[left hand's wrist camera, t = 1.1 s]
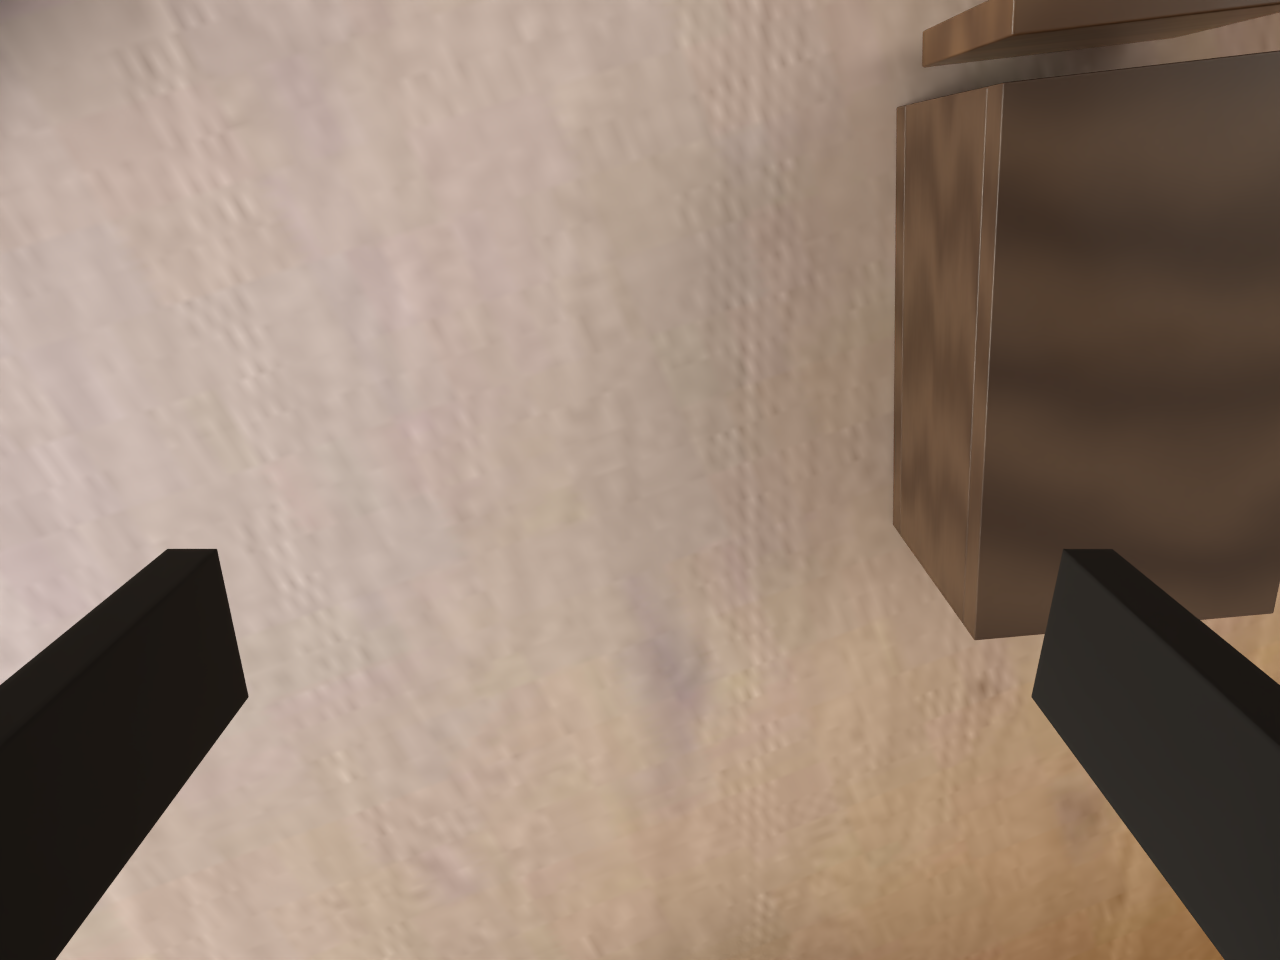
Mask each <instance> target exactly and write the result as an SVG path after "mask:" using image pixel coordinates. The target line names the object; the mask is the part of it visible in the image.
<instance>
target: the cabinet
mask: <svg viewBox="0 0 1280 960" xmlns="http://www.w3.org/2000/svg"><path fill="white" fill-rule="evenodd" d="M893 525H894V527H895V528H896V529H897V531H898V532H899V534H900V535H901V537H902V538H903V540H904V541H905V542H906V544H907V545H908V547H909V548H910V549H911V551H912V552H913V554H914V555H915V556H916V558H917V559H918V561H919V562H920V564H921V565H922V566H923V568H924V569H925V571H926V572H927V573H928V575H929V576H930V578H931V579H932V581H933V582H934V583H935V585H936V586H937V588H938V589H939V590H940V592H941V593H942V595H943V596H944V597H945V599H946V600H947V602H948V603H949V605H950V606H951V607H952V609H953V610H954V612H955V613H956V614H957V616H958V617H959V619H960V620H961V622H962V623H963V624H964V626H965V627H966V629H967V630H968V632H969V633H970V634H971V636H972V637H973V639H974V640H982V639H993V638H1004V637H1015V636H1026V635H1038V634H1045V631H1046V627H1047V622H1048V617H1049V613H1050V608H1051V603H1052V599H1053V594H1054V589H1055V585H1056V580H1057V575H1058V571H1059V566H1060V561H1061V557H1062V552H1063V549H1113V550H1114V551H1116V552H1117V553H1118V554H1119V555H1121V556H1122V557H1123V558H1124V559H1125V560H1127V561H1128V562H1129V563H1130V564H1132V565H1133V566H1134V567H1135V568H1136V569H1138V570H1139V571H1140V572H1141V573H1143V574H1144V575H1145V576H1146V577H1148V578H1149V579H1150V580H1151V581H1152V582H1154V583H1155V584H1156V585H1157V586H1159V587H1160V588H1161V589H1162V590H1163V591H1165V592H1166V593H1167V594H1168V595H1170V596H1171V597H1172V598H1173V599H1175V600H1176V601H1177V602H1178V603H1179V604H1181V605H1182V606H1183V607H1184V608H1186V609H1187V610H1188V611H1189V612H1190V613H1192V614H1193V615H1194V616H1195V617H1197V618H1198V619H1199V620H1204V619H1215V618H1226V617H1237V616H1248V615H1259V614H1270V613H1273V612H1274V607H1275V602H1276V597H1277V592H1278V587H1279V582H1280V51H1271V52H1263V53H1254V54H1246V55H1237V56H1228V57H1220V58H1211V59H1203V60H1194V61H1185V62H1177V63H1168V64H1160V65H1151V66H1142V67H1134V68H1125V69H1117V70H1108V71H1099V72H1091V73H1082V74H1074V75H1065V76H1057V77H1048V78H1039V79H1031V80H1022V81H1014V82H1005V83H1000V84H996V85H992V86H987V87H983V88H979V89H974V90H970V91H966V92H961V93H957V94H953V95H948V96H944V97H940V98H935V99H931V100H926V101H922V102H918V103H913V104H909V105H905V106H901V107H898V108H897V142H896V258H895V374H894V490H893Z"/></svg>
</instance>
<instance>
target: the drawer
mask: <svg viewBox="0 0 1280 960" xmlns="http://www.w3.org/2000/svg"><path fill="white" fill-rule="evenodd" d="M1279 12H1280V0H988V1H986V2H984V3H982V4H979V5H977V6H975V7H973V8H971V9H969V10H967V11H965V12H963V13H961V14H958V15H956V16H954V17H952V18H950V19H948V20H946V21H944V22H942V23H940V24H938V25H935V26H933V27H931V28H929V29H927V30H925V31H924V32H923V54H922V66H923V67H931V66H939V65H948V64H956V63H965V62H973V61H982V60H990V59H999V58H1007V57H1016V56H1024V55H1033V54H1041V53H1050V52H1058V51H1067V50H1075V49H1084V48H1093V47H1101V46H1110V45H1118V44H1127V43H1135V42H1144V41H1152V40H1161V39H1169V38H1175V37H1179V36H1183V35H1188V34H1192V33H1196V32H1200V31H1204V30H1208V29H1212V28H1217V27H1221V26H1225V25H1229V24H1233V23H1237V22H1242V21H1246V20H1250V19H1254V18H1258V17H1262V16H1266V15H1271V14H1275V13H1279Z"/></svg>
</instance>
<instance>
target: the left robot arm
mask: <svg viewBox="0 0 1280 960" xmlns="http://www.w3.org/2000/svg"><path fill="white" fill-rule="evenodd" d="M247 698H248V692H247V687H246V683H245V678H244V673H243V669H242V664H241V659H240V655H239V650H238V645H237V641H236V636H235V631H234V627H233V622H232V617H231V613H230V608H229V603H228V599H227V594H226V589H225V585H224V580H223V575H222V571H221V566H220V561H219V557H218V552H217V549H167V550H166V551H164V552H163V553H162V554H161V555H159V556H158V557H157V558H156V559H155V560H153V561H152V562H151V563H150V564H148V565H147V566H146V567H145V568H144V569H142V570H141V571H140V572H139V573H137V574H136V575H135V576H134V577H132V578H131V579H130V580H129V581H128V582H126V583H125V584H124V585H123V586H121V587H120V588H119V589H118V590H117V591H115V592H114V593H113V594H112V595H110V596H109V597H108V598H107V599H105V600H104V601H103V602H102V603H101V604H99V605H98V606H97V607H96V608H94V609H93V610H92V611H91V612H90V613H88V614H87V615H86V616H85V617H83V618H82V619H81V620H80V621H78V622H77V623H76V624H75V625H74V626H72V627H71V628H70V629H69V630H67V631H66V632H65V633H64V634H62V635H61V636H60V637H59V638H58V639H56V640H55V641H54V642H53V643H51V644H50V645H49V646H48V647H47V648H45V649H44V650H43V651H42V652H40V653H39V654H38V655H37V656H35V657H34V658H33V659H32V660H31V661H29V662H28V663H27V664H26V665H24V666H23V667H22V668H21V669H20V670H18V671H17V672H16V673H15V674H13V675H12V676H11V677H10V678H8V679H7V680H6V681H5V682H4V683H2V684H1V685H0V960H56V958H57V957H58V955H59V954H60V953H61V951H62V950H63V949H64V947H65V946H66V945H67V943H68V942H69V941H70V939H71V938H72V936H73V935H74V934H75V932H76V931H77V930H78V928H79V927H80V926H81V924H82V923H83V921H84V920H85V919H86V917H87V916H88V915H89V913H90V912H91V911H92V909H93V908H94V906H95V905H96V904H97V902H98V901H99V900H100V898H101V897H102V896H103V894H104V893H105V892H106V890H107V889H108V887H109V886H110V885H111V883H112V882H113V881H114V879H115V878H116V877H117V875H118V874H119V872H120V871H121V870H122V868H123V867H124V866H125V864H126V863H127V862H128V860H129V859H130V858H131V856H132V855H133V853H134V852H135V851H136V849H137V848H138V847H139V845H140V844H141V843H142V841H143V840H144V838H145V837H146V836H147V834H148V833H149V832H150V830H151V829H152V828H153V826H154V825H155V823H156V822H157V821H158V819H159V818H160V817H161V815H162V814H163V813H164V811H165V810H166V809H167V807H168V806H169V804H170V803H171V802H172V800H173V799H174V798H175V796H176V795H177V794H178V792H179V791H180V789H181V788H182V787H183V785H184V784H185V783H186V781H187V780H188V779H189V777H190V776H191V774H192V773H193V772H194V770H195V769H196V768H197V766H198V765H199V764H200V762H201V761H202V760H203V758H204V757H205V755H206V754H207V753H208V751H209V750H210V749H211V747H212V746H213V745H214V743H215V742H216V740H217V739H218V738H219V736H220V735H221V734H222V732H223V731H224V730H225V728H226V727H227V726H228V724H229V723H230V721H231V720H232V719H233V717H234V716H235V715H236V713H237V712H238V711H239V709H240V708H241V706H242V705H243V704H244V702H245V701H246V700H247ZM1032 698H1033V700H1034V701H1035V702H1036V704H1037V705H1038V706H1039V708H1040V709H1041V711H1042V712H1043V713H1044V715H1045V716H1046V717H1047V719H1048V720H1049V721H1050V723H1051V724H1052V726H1053V727H1054V728H1055V730H1056V731H1057V732H1058V734H1059V735H1060V736H1061V738H1062V739H1063V740H1064V742H1065V743H1066V745H1067V746H1068V747H1069V749H1070V750H1071V751H1072V753H1073V754H1074V755H1075V757H1076V758H1077V760H1078V761H1079V762H1080V764H1081V765H1082V766H1083V768H1084V769H1085V770H1086V772H1087V773H1088V774H1089V776H1090V777H1091V779H1092V780H1093V781H1094V783H1095V784H1096V785H1097V787H1098V788H1099V789H1100V791H1101V792H1102V794H1103V795H1104V796H1105V798H1106V799H1107V800H1108V802H1109V803H1110V804H1111V806H1112V807H1113V809H1114V810H1115V811H1116V813H1117V814H1118V815H1119V817H1120V818H1121V819H1122V821H1123V822H1124V823H1125V825H1126V826H1127V828H1128V829H1129V830H1130V832H1131V833H1132V834H1133V836H1134V837H1135V838H1136V840H1137V841H1138V843H1139V844H1140V845H1141V847H1142V848H1143V849H1144V851H1145V852H1146V853H1147V855H1148V856H1149V858H1150V859H1151V860H1152V862H1153V863H1154V864H1155V866H1156V867H1157V868H1158V870H1159V871H1160V872H1161V874H1162V875H1163V877H1164V878H1165V879H1166V881H1167V882H1168V883H1169V885H1170V886H1171V887H1172V889H1173V890H1174V892H1175V893H1176V894H1177V896H1178V897H1179V898H1180V900H1181V901H1182V902H1183V904H1184V905H1185V906H1186V908H1187V909H1188V911H1189V912H1190V913H1191V915H1192V916H1193V917H1194V919H1195V920H1196V921H1197V923H1198V924H1199V926H1200V927H1201V928H1202V930H1203V931H1204V932H1205V934H1206V935H1207V936H1208V938H1209V939H1210V941H1211V942H1212V943H1213V945H1214V946H1215V947H1216V949H1217V950H1218V951H1219V953H1220V954H1221V955H1222V957H1223V958H1224V960H1280V685H1279V684H1278V683H1276V682H1275V681H1274V680H1273V679H1272V678H1270V677H1269V676H1268V675H1267V674H1265V673H1264V672H1263V671H1262V670H1260V669H1259V668H1258V667H1257V666H1256V665H1254V664H1253V663H1252V662H1251V661H1249V660H1248V659H1247V658H1246V657H1245V656H1243V655H1242V654H1241V653H1240V652H1238V651H1237V650H1236V649H1235V648H1233V647H1232V646H1231V645H1230V644H1229V643H1227V642H1226V641H1225V640H1224V639H1222V638H1221V637H1220V636H1219V635H1218V634H1216V633H1215V632H1214V631H1213V630H1211V629H1210V628H1209V627H1208V626H1206V625H1205V624H1204V623H1203V622H1202V621H1200V620H1199V619H1198V618H1197V617H1195V616H1194V615H1193V614H1192V613H1190V612H1189V611H1188V610H1187V609H1186V608H1184V607H1183V606H1182V605H1181V604H1179V603H1178V602H1177V601H1176V600H1175V599H1173V598H1172V597H1171V596H1170V595H1168V594H1167V593H1166V592H1165V591H1163V590H1162V589H1161V588H1160V587H1159V586H1157V585H1156V584H1155V583H1154V582H1152V581H1151V580H1150V579H1149V578H1148V577H1146V576H1145V575H1144V574H1143V573H1141V572H1140V571H1139V570H1138V569H1136V568H1135V567H1134V566H1133V565H1132V564H1130V563H1129V562H1128V561H1127V560H1125V559H1124V558H1123V557H1122V556H1121V555H1119V554H1118V553H1117V552H1116V551H1114V550H1113V549H1063V552H1062V557H1061V561H1060V566H1059V571H1058V575H1057V580H1056V585H1055V589H1054V594H1053V599H1052V603H1051V608H1050V613H1049V617H1048V622H1047V627H1046V631H1045V636H1044V641H1043V645H1042V650H1041V655H1040V659H1039V664H1038V669H1037V673H1036V678H1035V683H1034V687H1033V692H1032Z"/></svg>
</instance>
